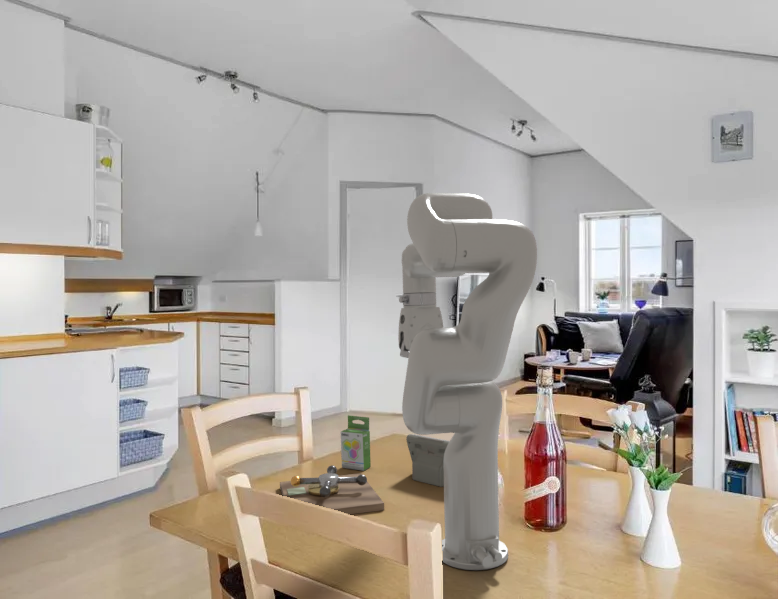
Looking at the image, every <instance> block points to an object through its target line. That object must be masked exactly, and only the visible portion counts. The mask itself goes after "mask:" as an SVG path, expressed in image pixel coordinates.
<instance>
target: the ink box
mask: <svg viewBox="0 0 778 599" xmlns="http://www.w3.org/2000/svg"><path fill="white" fill-rule="evenodd" d="M353 421H362V422H364V423H355V422H353ZM370 432H371V431H370V417H368V416H367V417H366V416H357V415H349V414H348V415H347V428H346V429H343V430H340V454H341V468H342V469H347V470H348V469H349V470H357V471H361V472H362V471H363V472H364V471H367V470H368V469H370V468H371V462H372V461H371V435H370V434H371V433H370Z"/></svg>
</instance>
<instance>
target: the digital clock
mask: <svg viewBox="0 0 778 599" xmlns="http://www.w3.org/2000/svg"><path fill="white" fill-rule="evenodd" d="M449 442H450V440H447V439H441V438H437V437H431V436H427V435H426V436H425V435H421V434H415V433H412V434H410V433H408V434H407V435H406V443H407V444H406V445H407V448H408V451H409V455H410V458H411V463H412V466H411V467H412V469H411V471H412V474H411V475H412V480H413V481H416V482H421V483H423V484H428V485H431V486H436V487H439V488H442V487H444V462H443V461H444V453H445V450H446V447H447V445H448V443H449Z"/></svg>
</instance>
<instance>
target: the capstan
mask: <svg viewBox="0 0 778 599" xmlns="http://www.w3.org/2000/svg"><path fill="white" fill-rule="evenodd" d="M337 472H338V468H337V467H336V466H335V465H329V466H328V467H327V468H326V473H322V474H319V475H318V477H300V476H299V475H294V476H291V478H290V481H291V485H292V486H294V487H297V486H299V485H300V484H310V485H309V486H308V492H309V493H310V494H312V495H318V496H322V497H324V498H326V497H328V496H329V495H331V494H334V493H337V492H338V491H339V484H344V483H358V484H359V485H365V484H366V482H368V479H367V476H366V475H365V474H362V473H361V475H359V476H358V477H338V476H339V474H337Z"/></svg>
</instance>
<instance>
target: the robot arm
mask: <svg viewBox="0 0 778 599" xmlns="http://www.w3.org/2000/svg"><path fill="white" fill-rule="evenodd" d="M406 222H407V225H406V226H407V231H408V234H409V237H410V240H411V242H412V243H410V244H408V245H407V246H406V247H405V249H403V250H402V253H401V266H402V268H401V270H402V296H399V298H398V301H399V303H400V304H402V306H403V307H402V308H401V309H400V314H399V320H398V321H399V322H398V333H397V334H398V347H399V350H400V352H399V356H400V357H401V358H405V359H407V367H406V373H405V374H406V375H405V381H404V388H403V394H402V402H401V404H402V406H401V411H402V412H401V413H402V419H403V422H404V423H403V424H404V425H405V426H406V428H407V430H408V431H410V432H412V434H415V435H421V436H425V435H426V436H427V435H437V434H438V435H440V434H453V435H452V436H451V438H450V439H449V441H450V442H449V443H448V445H447V447H446V450H445V453H444V461H443V462H444V486H443V504H444V505H443V506H444V507H443V508H444V511H443V512H444V538H443V539H442V540H441V541H442V551H443V562H442V563H444V564H445V565H447V566H449V567H452V568H456V569H460V570H466V571H482V570H483V571H485V570H490V569H494V568H497V567H500V566H501V565H503V564H505V563H506V562H507V561H508V559H509V548H508V547H507V545H506V544H505V542H503V541H501V540H500V526H499V525H500V524H499V519H500V518H499V514H500V513H499V512H500V511H499V470H498V469H499V462H498V461H499V460H498V456H499V454H498V453H499V452H498V447H499V434H500V433H499V431H500V426H501V419H502V412H503V395H502V392H501V388H500V387H499V386H498V385H497V383H496V382H495V381H494V380H496V379H498V377H499V376H500V375H501V373H502V371H503V368H504V365H505V362H506V358H507V355H508V350H509V345H510V343H511V338H512V335H513V331H514V325H515V322H516V319H517V315H518V313H519V311H520V308H521V306H522V304H523V302H524V300H525V298H526V297H527V295H528V293H529V290H530V289H531V286H532V283H533V280H534V278H535V275H536V270H537V265H538V264H537V263H538V248H537V240H536V238H535V235H534V233H533V231H532V230H531V229H530V228H529V227H528V226H527V225H525V224H524V223H520V222H518V221H514V220H508V219H498V218H497V219H496V218H494V219H493V211H492V208H491V206H490V205H489V203H488V202H487V200H485V199H484V198H483V197H481V196H479V195H476V194H472V193H462V192H461V193H459V192H457V193H454V192H453V193H452V192H451V193H449V192H445V193H444V192H443V193H442V192H440V193H439V192H433V193H432V192H429V193H428V192H425V193H422V194H420V195H418V196H416V197H415V199H413V201H412V202H411V203H410V205H409V208H408V212H407V218H406ZM466 274H488V276H487V277H486V278H485V279H483V280H482V281H481V282H480V283H479V284H478V285H477V286H475V288H474V289H473V290H472V291H471V292H470V294H469V295H468V296H467V298H466V299H465V301H464V302H463V305H462V310H461V315H460V321H459V323H458V324H457V325H455V326H451V327H444V321H443V320H444V319H443V316H442V311H441V307H440V306H437V283H436V281H437V279H436V278H458V277H461V276H464V275H466Z"/></svg>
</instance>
